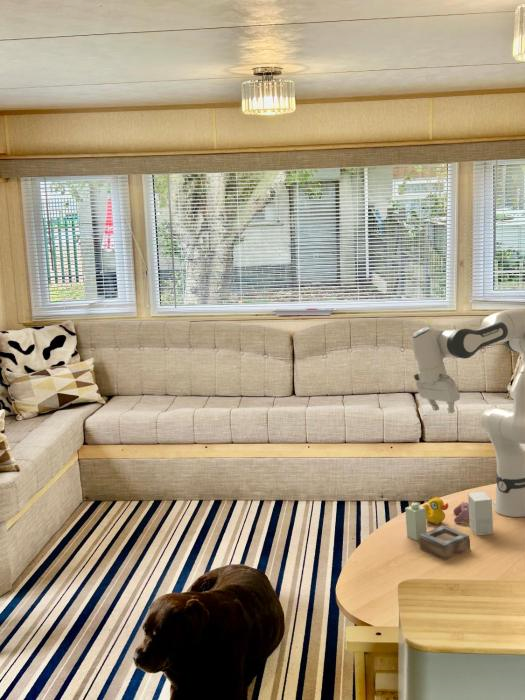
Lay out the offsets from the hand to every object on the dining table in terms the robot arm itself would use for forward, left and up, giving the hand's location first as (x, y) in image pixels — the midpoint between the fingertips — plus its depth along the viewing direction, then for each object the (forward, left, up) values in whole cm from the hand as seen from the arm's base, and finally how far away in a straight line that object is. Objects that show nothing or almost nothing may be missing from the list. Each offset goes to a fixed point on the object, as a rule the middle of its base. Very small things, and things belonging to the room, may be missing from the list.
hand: (443, 411), depth 267 cm
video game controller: (-13, -8, -47) cm, 49 cm away
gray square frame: (+10, +7, -46) cm, 48 cm away
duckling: (-3, -11, -46) cm, 48 cm away
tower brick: (+10, -7, -46) cm, 48 cm away
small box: (-10, +5, -46) cm, 48 cm away
